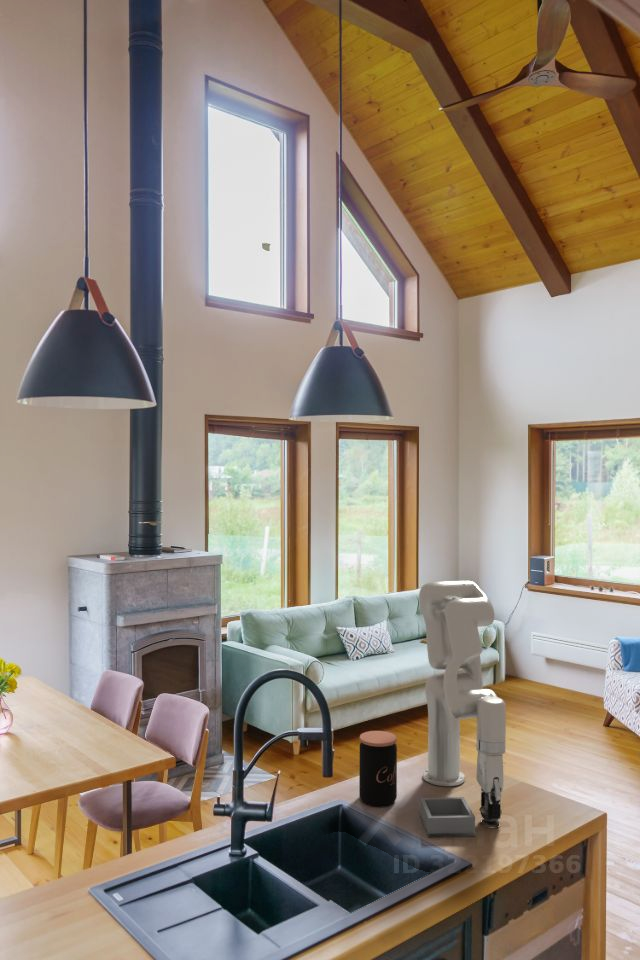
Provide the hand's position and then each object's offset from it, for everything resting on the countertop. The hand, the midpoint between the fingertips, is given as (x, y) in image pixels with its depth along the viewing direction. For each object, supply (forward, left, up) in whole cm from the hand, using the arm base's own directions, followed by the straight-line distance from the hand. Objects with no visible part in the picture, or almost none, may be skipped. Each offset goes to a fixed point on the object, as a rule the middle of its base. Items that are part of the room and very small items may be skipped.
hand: (490, 811), depth 204 cm
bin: (+1, -12, -3) cm, 12 cm away
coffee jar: (-16, -28, -3) cm, 32 cm away
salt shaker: (0, 0, -3) cm, 3 cm away
